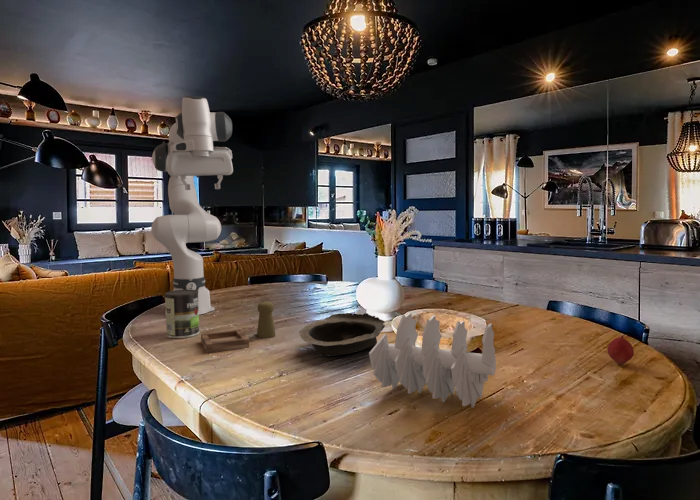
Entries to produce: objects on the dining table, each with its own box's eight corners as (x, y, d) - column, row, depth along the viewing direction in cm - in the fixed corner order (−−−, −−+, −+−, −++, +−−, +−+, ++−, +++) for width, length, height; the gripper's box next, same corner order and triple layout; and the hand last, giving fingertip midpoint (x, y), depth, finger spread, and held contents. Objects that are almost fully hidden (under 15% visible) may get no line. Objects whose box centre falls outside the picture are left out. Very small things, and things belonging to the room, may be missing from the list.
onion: (601, 362, 118) (603, 332, 118) (617, 359, 120) (619, 330, 120) (622, 369, 113) (623, 338, 112) (638, 366, 115) (639, 336, 114)
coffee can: (205, 330, 151) (204, 289, 150) (188, 339, 141) (187, 295, 140) (178, 329, 153) (176, 288, 152) (159, 337, 143) (157, 294, 142)
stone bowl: (392, 341, 138) (392, 312, 136) (374, 376, 114) (374, 341, 113) (316, 334, 144) (315, 306, 143) (285, 366, 121) (284, 333, 119)
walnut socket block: (201, 342, 138) (200, 334, 138) (240, 337, 144) (240, 329, 143) (207, 353, 128) (207, 344, 127) (249, 347, 133) (248, 339, 133)
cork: (277, 336, 144) (276, 303, 143) (258, 339, 141) (257, 304, 140) (273, 332, 149) (272, 299, 148) (255, 334, 147) (254, 301, 146)
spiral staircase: (393, 395, 108) (500, 414, 95) (359, 387, 94) (479, 407, 81) (404, 321, 114) (506, 329, 101) (373, 302, 99) (487, 309, 87)
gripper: (229, 148, 153) (232, 188, 154) (165, 148, 144) (169, 191, 146) (233, 145, 147) (236, 187, 149) (166, 145, 138) (171, 190, 140)
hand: (202, 189), depth 147 cm, fingers open, 8 cm apart
